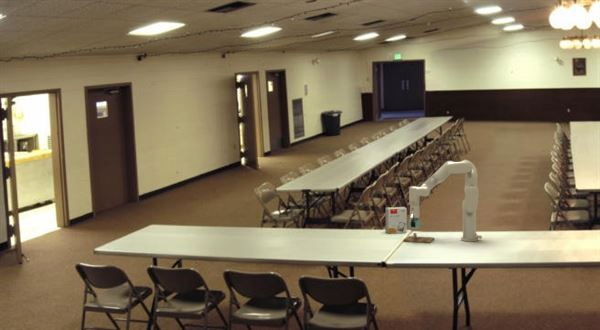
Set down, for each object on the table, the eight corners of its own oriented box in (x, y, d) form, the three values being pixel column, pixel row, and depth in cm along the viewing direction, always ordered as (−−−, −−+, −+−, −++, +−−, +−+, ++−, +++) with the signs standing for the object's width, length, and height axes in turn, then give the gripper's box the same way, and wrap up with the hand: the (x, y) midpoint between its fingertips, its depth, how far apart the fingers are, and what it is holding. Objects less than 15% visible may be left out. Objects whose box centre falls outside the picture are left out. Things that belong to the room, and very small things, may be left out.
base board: (434, 239, 539) (434, 232, 538) (429, 243, 526) (429, 236, 526) (408, 237, 547) (408, 230, 547) (403, 241, 535) (403, 234, 534)
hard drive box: (387, 234, 563) (387, 209, 561) (385, 232, 571) (385, 207, 569) (407, 232, 565) (406, 208, 563) (404, 230, 573) (403, 206, 571)
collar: (420, 226, 539) (420, 219, 538) (417, 228, 532) (417, 220, 532) (411, 226, 542) (411, 218, 541) (408, 228, 535) (408, 220, 535)
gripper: (416, 204, 525) (416, 228, 527) (422, 201, 541) (422, 224, 543) (406, 204, 529) (406, 228, 531) (412, 200, 544) (412, 223, 546)
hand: (414, 225), depth 537 cm, fingers closed on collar, 7 cm apart
